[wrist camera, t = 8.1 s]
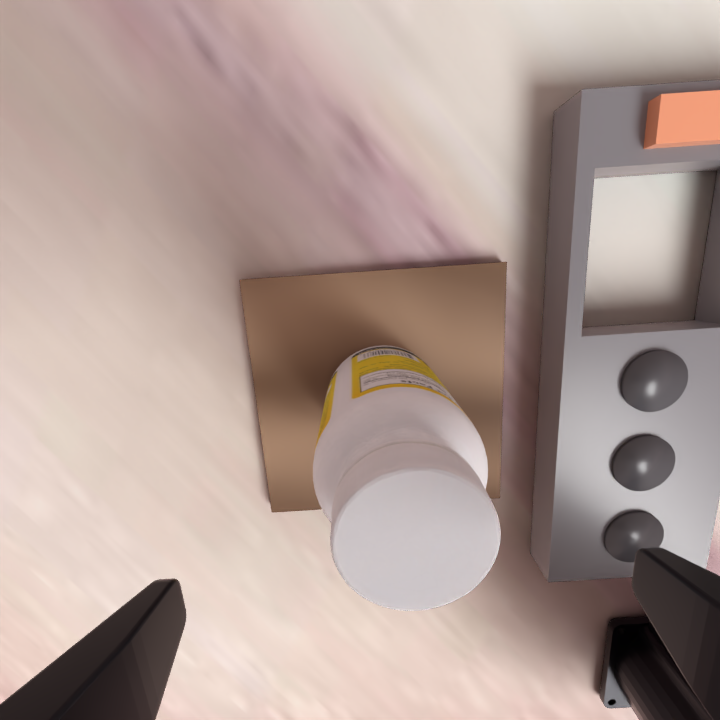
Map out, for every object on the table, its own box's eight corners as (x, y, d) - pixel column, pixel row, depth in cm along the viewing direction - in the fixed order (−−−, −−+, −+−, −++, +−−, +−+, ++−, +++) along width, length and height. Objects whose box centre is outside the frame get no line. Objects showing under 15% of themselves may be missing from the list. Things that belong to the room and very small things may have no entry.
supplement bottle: (375, 468, 19) (395, 671, 9) (304, 391, 18) (245, 532, 8) (460, 403, 18) (577, 554, 9) (391, 319, 17) (435, 384, 8)
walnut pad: (496, 492, 20) (499, 498, 19) (273, 506, 20) (271, 512, 19) (502, 262, 17) (506, 261, 16) (242, 279, 17) (239, 279, 17)
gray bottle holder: (672, 544, 21) (716, 582, 18) (530, 553, 21) (554, 592, 18) (745, 98, 15) (820, 65, 13) (553, 111, 16) (592, 81, 13)
